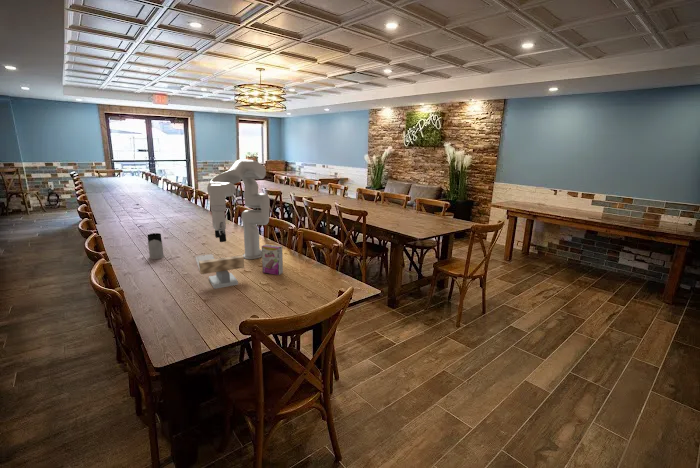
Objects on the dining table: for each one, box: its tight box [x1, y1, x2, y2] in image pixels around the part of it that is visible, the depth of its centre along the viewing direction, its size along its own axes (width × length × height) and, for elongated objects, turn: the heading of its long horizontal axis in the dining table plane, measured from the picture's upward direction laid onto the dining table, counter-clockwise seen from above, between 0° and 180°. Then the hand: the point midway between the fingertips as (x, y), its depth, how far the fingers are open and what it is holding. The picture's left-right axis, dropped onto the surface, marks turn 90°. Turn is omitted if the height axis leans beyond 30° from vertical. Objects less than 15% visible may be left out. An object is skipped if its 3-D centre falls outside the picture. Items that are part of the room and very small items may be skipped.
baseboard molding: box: [193, 253, 215, 272], centre depth 213 cm, size 31×3×12 cm
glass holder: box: [147, 232, 165, 260], centre depth 224 cm, size 9×14×15 cm, turn 24°
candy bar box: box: [261, 243, 284, 276], centre depth 198 cm, size 11×5×16 cm, turn 71°
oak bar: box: [198, 254, 245, 275], centre depth 183 cm, size 22×4×6 cm, turn 122°
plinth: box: [208, 270, 239, 289], centre depth 184 cm, size 12×14×7 cm
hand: (220, 239), depth 183 cm, fingers open, 9 cm apart
